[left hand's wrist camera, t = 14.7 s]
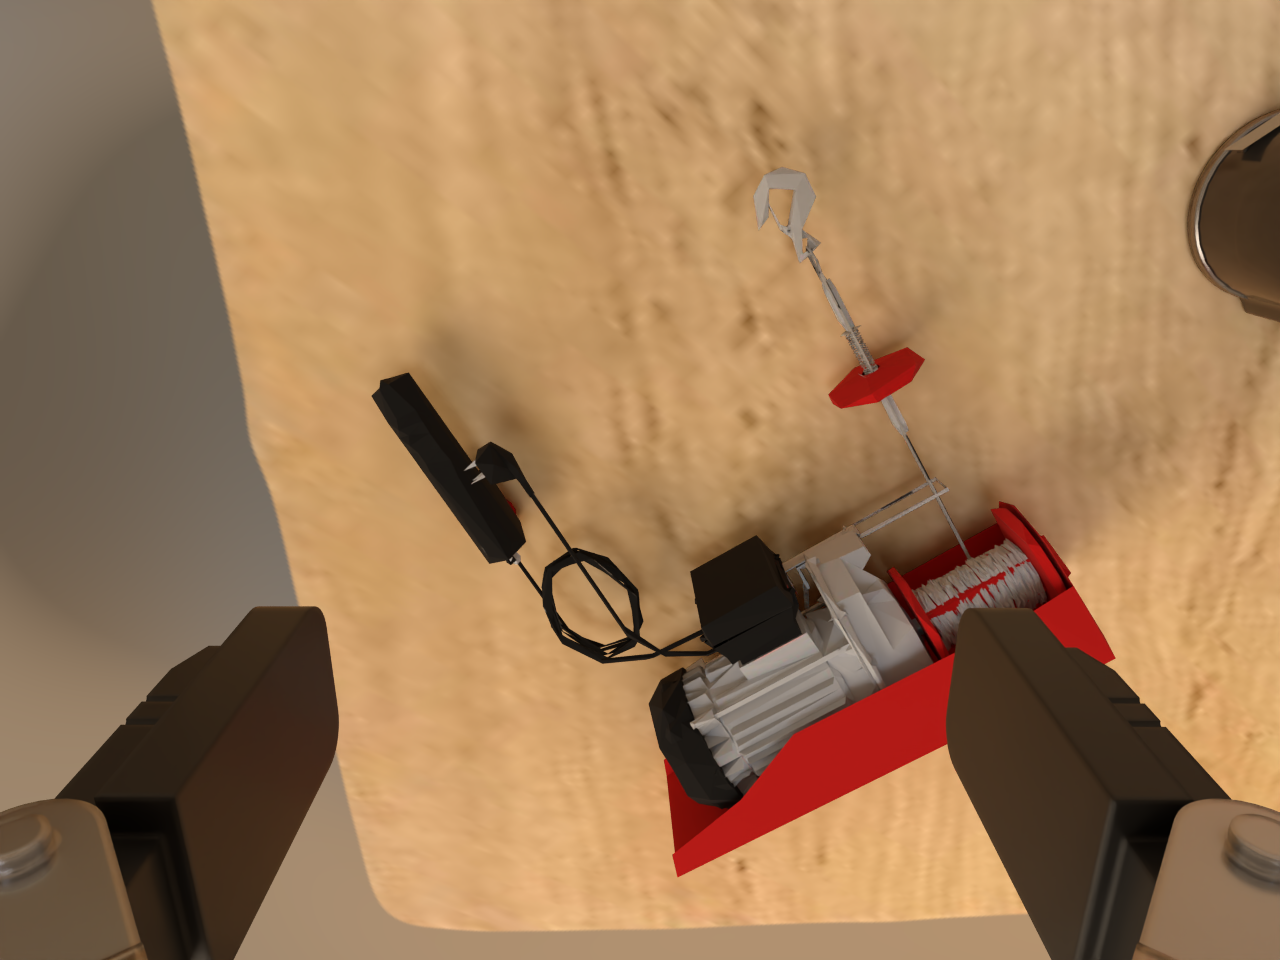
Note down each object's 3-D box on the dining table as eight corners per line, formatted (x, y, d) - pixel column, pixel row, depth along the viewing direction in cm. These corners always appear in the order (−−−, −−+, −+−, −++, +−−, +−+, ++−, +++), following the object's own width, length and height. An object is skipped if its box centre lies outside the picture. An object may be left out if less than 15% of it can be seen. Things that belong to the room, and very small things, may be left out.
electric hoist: (320, 427, 39) (666, 887, 48) (861, 89, 36) (1130, 655, 44) (377, 378, 49) (657, 769, 58) (808, 107, 45) (1038, 570, 54)
